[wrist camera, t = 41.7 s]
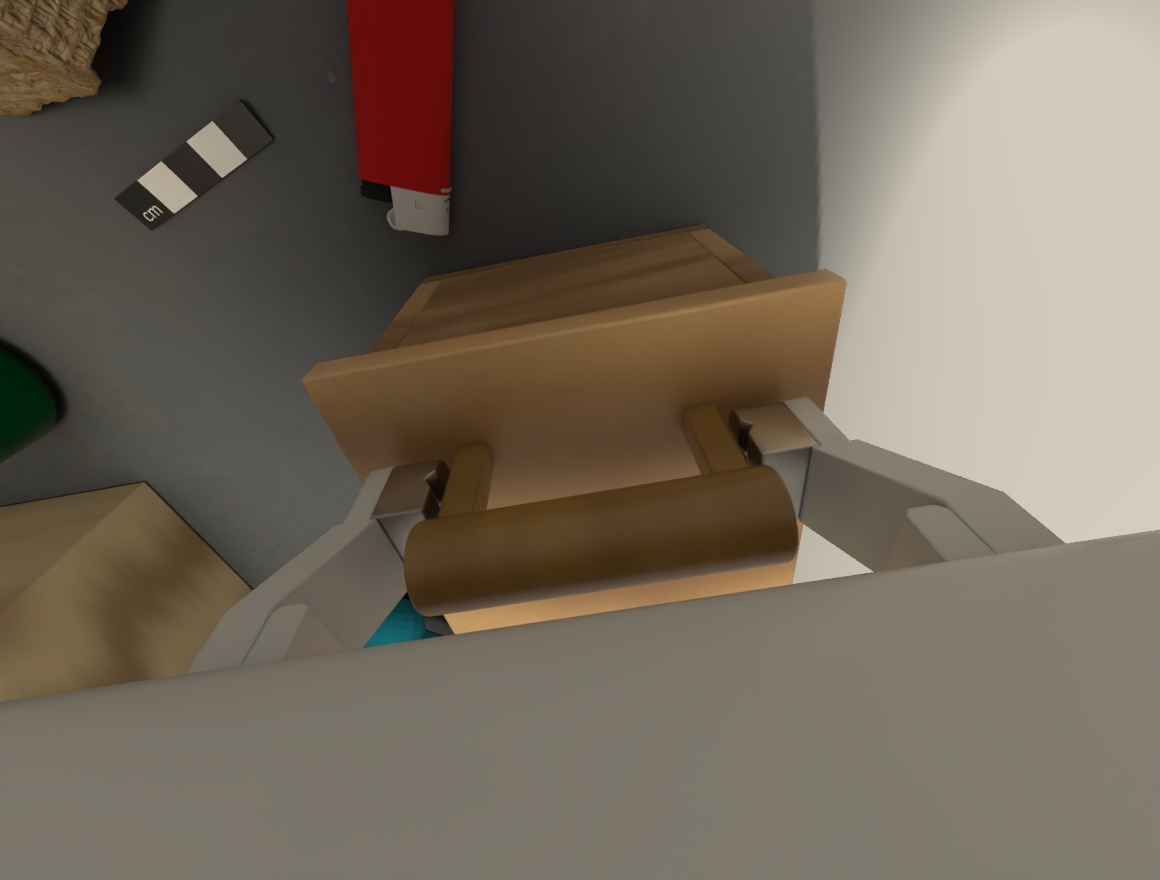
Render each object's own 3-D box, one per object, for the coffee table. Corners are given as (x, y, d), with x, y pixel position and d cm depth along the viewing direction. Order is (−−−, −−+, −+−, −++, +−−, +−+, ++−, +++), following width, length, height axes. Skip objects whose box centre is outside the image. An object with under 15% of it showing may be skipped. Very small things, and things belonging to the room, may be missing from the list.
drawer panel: (315, 362, 9) (160, 522, 6) (828, 267, 9) (1029, 376, 5) (500, 686, 18) (487, 837, 14) (769, 648, 17) (829, 795, 14)
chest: (424, 277, 17) (333, 394, 10) (703, 223, 16) (822, 306, 9) (514, 522, 25) (500, 685, 18) (705, 492, 24) (768, 647, 17)
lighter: (455, -116, 11) (446, 240, 15) (463, -96, 12) (452, 232, 16) (326, -157, 10) (357, 223, 15) (346, -132, 11) (369, 216, 16)
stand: (-42, 513, 22) (-644, 920, 11) (145, 481, 22) (-289, 874, 11) (114, 624, 28) (-177, 963, 17) (264, 600, 28) (67, 935, 16)
